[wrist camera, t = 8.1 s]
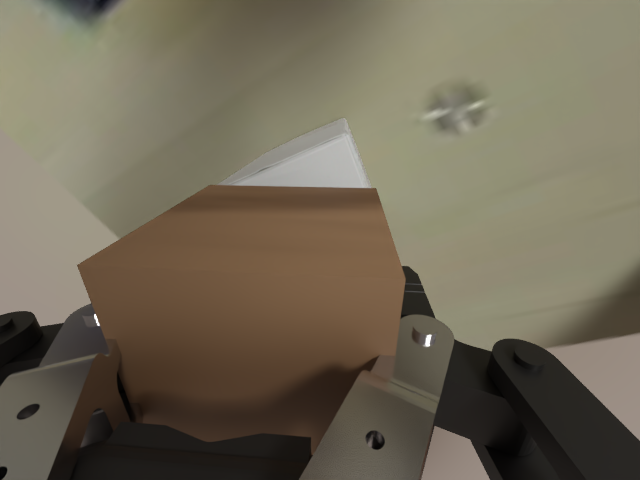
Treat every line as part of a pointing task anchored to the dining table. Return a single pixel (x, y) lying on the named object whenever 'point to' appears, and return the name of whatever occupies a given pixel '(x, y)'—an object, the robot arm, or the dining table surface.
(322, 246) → the walnut block
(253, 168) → the supplement box
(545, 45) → the dining table surface
